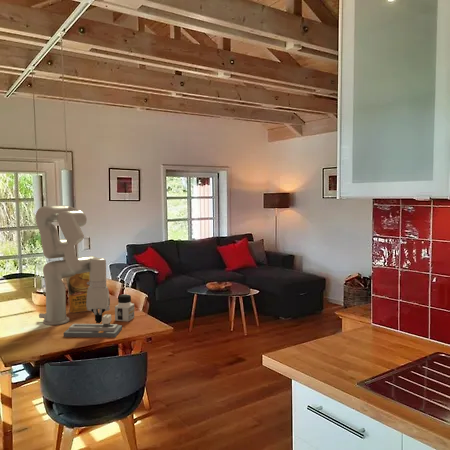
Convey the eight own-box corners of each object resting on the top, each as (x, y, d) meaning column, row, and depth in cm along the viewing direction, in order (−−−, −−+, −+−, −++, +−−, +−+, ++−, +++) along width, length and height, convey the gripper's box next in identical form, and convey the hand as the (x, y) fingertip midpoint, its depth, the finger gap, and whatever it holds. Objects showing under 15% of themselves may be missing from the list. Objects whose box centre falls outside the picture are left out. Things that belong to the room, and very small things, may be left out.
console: (63, 336, 194) (63, 329, 194) (73, 328, 206) (73, 321, 206) (115, 337, 194) (115, 330, 194) (122, 329, 206) (121, 322, 206)
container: (128, 321, 218) (128, 297, 218) (114, 320, 220) (114, 296, 219) (134, 317, 226) (134, 293, 225) (121, 316, 228) (120, 292, 227)
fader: (102, 330, 197) (101, 317, 197) (105, 326, 202) (105, 314, 202) (108, 330, 197) (108, 317, 197) (111, 326, 202) (111, 314, 202)
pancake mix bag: (64, 311, 237) (63, 262, 235) (98, 306, 247) (97, 259, 246) (67, 314, 231) (65, 263, 229) (101, 309, 242) (100, 261, 240)
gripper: (79, 285, 195) (80, 324, 196) (111, 286, 195) (112, 325, 196) (85, 282, 202) (85, 320, 204) (116, 282, 202) (116, 320, 203)
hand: (98, 322), depth 200 cm, fingers closed
